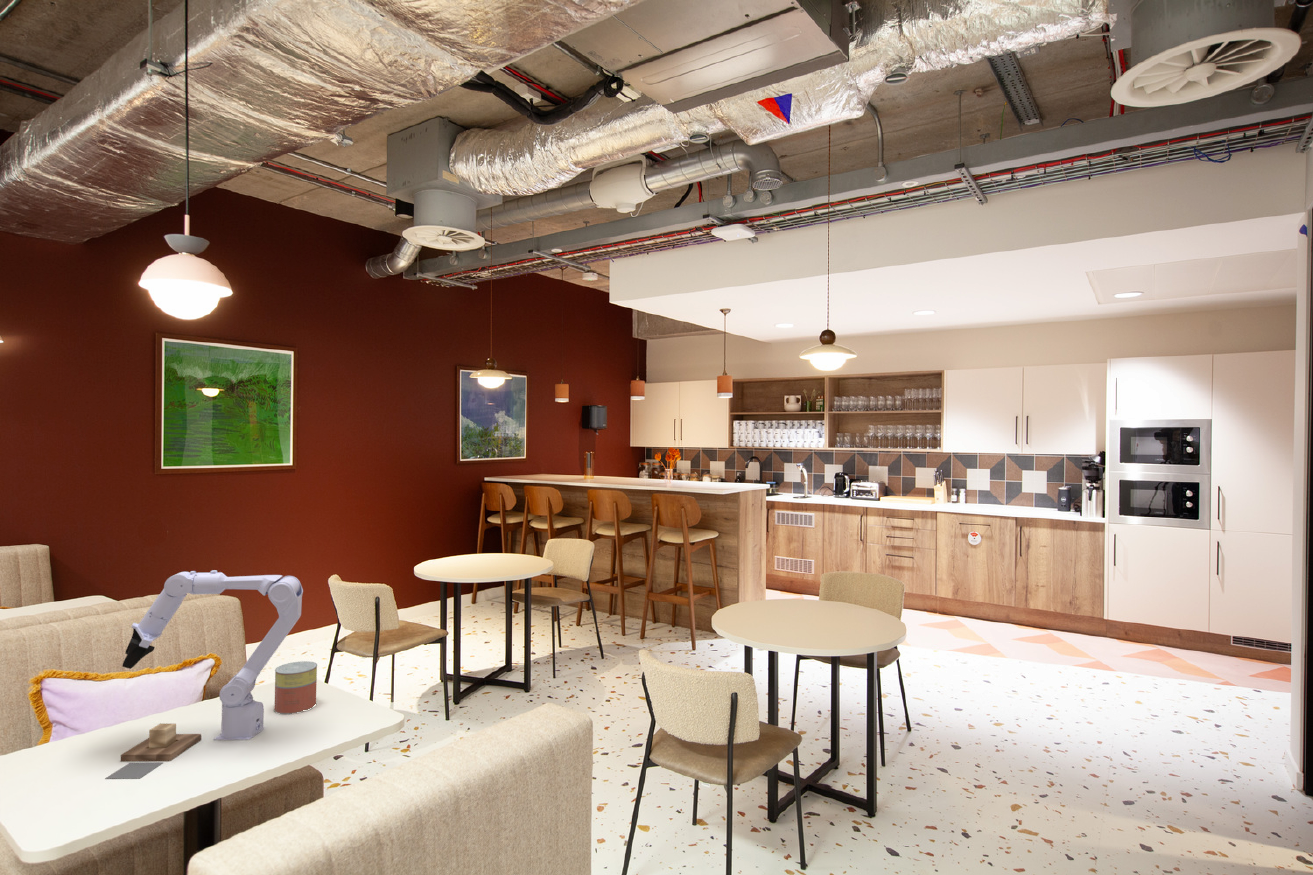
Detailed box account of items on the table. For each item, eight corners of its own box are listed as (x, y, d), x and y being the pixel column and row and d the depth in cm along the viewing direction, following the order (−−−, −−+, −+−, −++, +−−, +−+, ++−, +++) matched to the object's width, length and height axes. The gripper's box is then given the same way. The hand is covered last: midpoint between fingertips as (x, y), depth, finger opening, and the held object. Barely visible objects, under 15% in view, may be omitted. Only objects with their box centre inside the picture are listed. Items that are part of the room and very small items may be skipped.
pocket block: (201, 741, 179) (201, 733, 179) (170, 762, 167) (170, 754, 167) (154, 741, 178) (154, 734, 178) (120, 762, 166) (120, 754, 166)
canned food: (324, 700, 208) (324, 662, 209) (301, 715, 197) (302, 674, 197) (289, 699, 209) (290, 660, 210) (265, 713, 198) (266, 672, 198)
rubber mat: (163, 764, 166) (163, 762, 166) (140, 780, 158) (140, 778, 158) (130, 764, 165) (130, 762, 165) (104, 780, 157) (104, 778, 157)
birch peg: (175, 746, 174) (176, 723, 175) (164, 753, 170) (165, 729, 171) (159, 746, 174) (160, 723, 174) (148, 753, 170) (149, 729, 170)
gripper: (145, 598, 182) (114, 644, 180) (141, 619, 170) (107, 668, 168) (173, 608, 186) (142, 652, 184) (171, 628, 174) (138, 676, 172)
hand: (127, 660), depth 176 cm, fingers open, 7 cm apart
